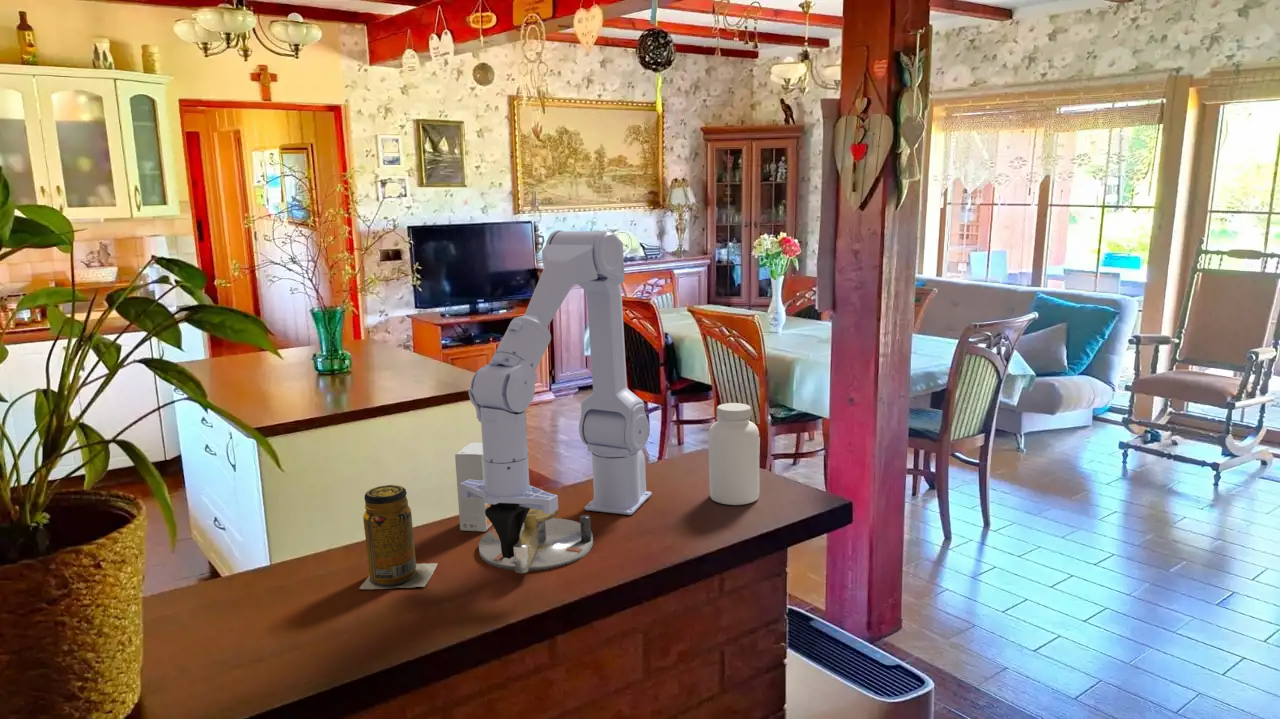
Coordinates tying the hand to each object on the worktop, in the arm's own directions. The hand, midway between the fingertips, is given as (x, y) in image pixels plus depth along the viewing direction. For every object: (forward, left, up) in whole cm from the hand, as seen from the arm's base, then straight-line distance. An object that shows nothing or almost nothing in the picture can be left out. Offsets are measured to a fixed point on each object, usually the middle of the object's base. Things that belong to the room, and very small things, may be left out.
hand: (511, 555), depth 115 cm
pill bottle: (-34, +22, -2) cm, 40 cm away
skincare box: (-13, -12, -2) cm, 18 cm away
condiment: (+6, -13, -2) cm, 15 cm away
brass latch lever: (-4, +1, -1) cm, 4 cm away
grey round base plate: (-8, 0, -2) cm, 8 cm away
